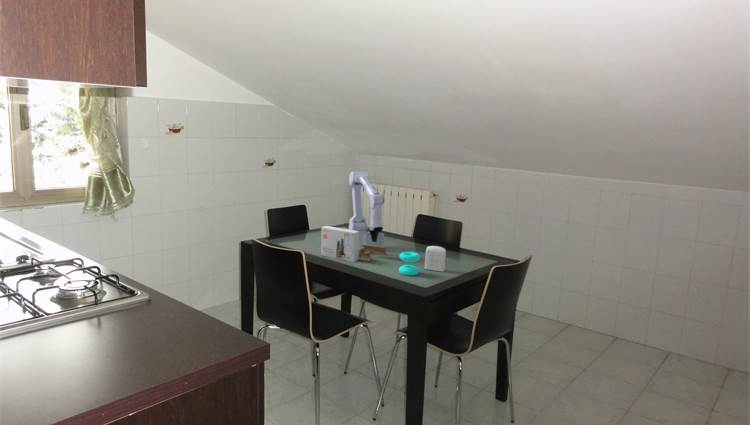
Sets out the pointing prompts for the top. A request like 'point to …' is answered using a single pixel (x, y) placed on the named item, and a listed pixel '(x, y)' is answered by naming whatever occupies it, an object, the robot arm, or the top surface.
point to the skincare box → (340, 243)
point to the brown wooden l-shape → (373, 250)
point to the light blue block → (378, 243)
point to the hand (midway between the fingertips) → (375, 240)
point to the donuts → (409, 269)
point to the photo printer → (435, 258)
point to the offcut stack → (365, 256)
